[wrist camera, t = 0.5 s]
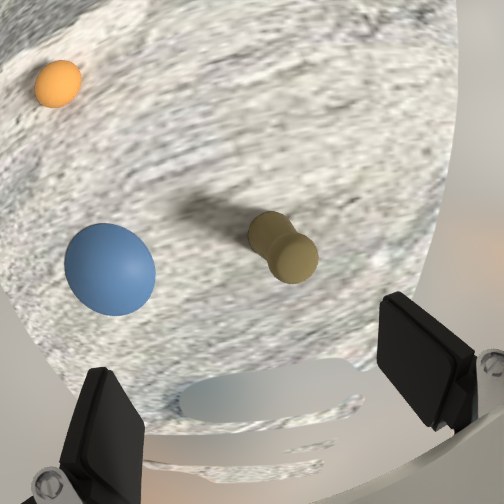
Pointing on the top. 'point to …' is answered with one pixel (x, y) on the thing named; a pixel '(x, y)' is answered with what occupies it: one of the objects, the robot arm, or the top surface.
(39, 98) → the ball
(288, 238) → the olive chess pawn
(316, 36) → the top surface
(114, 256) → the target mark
